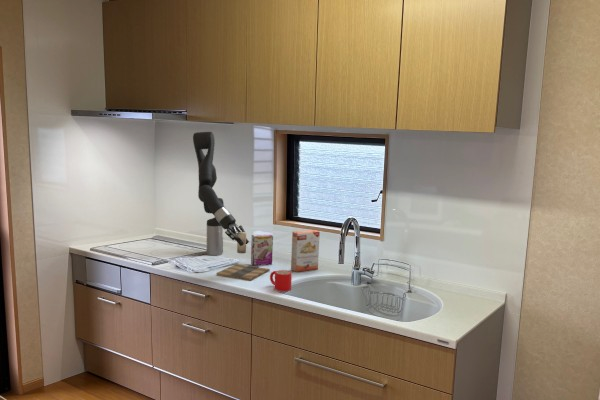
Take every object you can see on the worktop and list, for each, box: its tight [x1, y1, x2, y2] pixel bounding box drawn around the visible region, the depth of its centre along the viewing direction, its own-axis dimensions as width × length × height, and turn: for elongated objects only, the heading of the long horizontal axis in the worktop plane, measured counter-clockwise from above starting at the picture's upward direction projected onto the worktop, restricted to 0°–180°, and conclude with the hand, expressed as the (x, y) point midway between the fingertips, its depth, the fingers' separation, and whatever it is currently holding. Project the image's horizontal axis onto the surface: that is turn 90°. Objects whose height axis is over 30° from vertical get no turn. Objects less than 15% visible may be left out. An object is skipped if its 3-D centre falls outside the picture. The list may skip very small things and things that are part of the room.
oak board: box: [216, 263, 270, 282], centre depth 275 cm, size 20×20×1 cm
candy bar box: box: [250, 233, 274, 266], centre depth 292 cm, size 11×5×16 cm, turn 110°
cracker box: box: [290, 229, 321, 273], centre depth 284 cm, size 14×6×21 cm, turn 121°
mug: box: [269, 269, 293, 292], centre depth 252 cm, size 8×12×8 cm, turn 54°
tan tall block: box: [236, 231, 247, 254], centre depth 269 cm, size 4×4×10 cm
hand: (245, 243), depth 268 cm, fingers closed on tan tall block, 4 cm apart
